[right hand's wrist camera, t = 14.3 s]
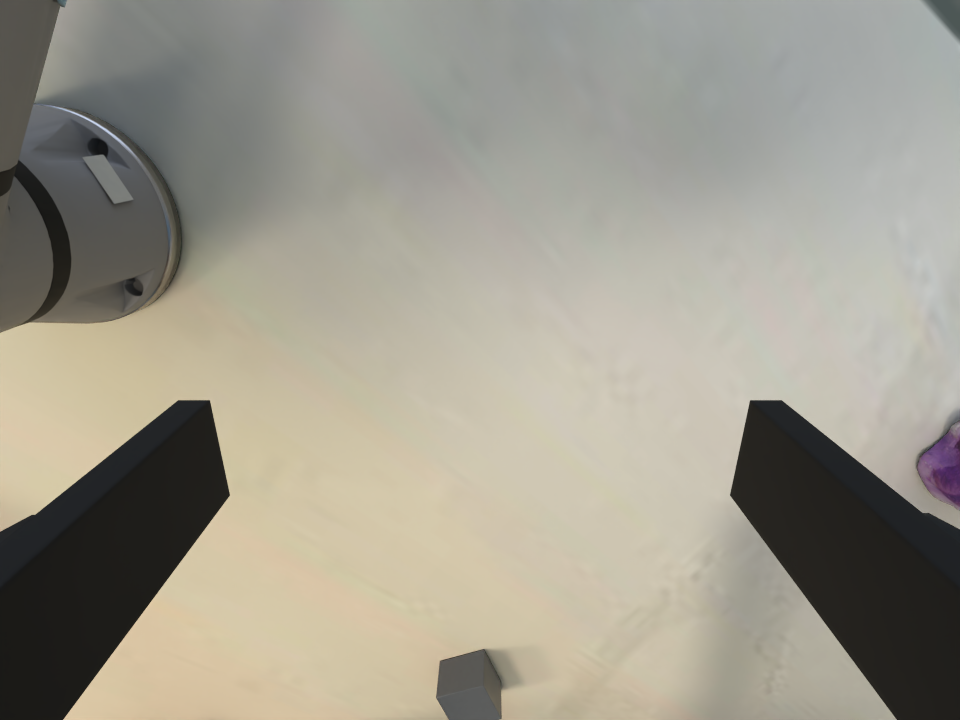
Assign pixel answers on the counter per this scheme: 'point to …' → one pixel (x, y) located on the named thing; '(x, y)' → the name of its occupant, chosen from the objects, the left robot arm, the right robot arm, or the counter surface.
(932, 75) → the counter surface
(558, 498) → the counter surface
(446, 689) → the slate block
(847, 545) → the right robot arm
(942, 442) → the figurine
